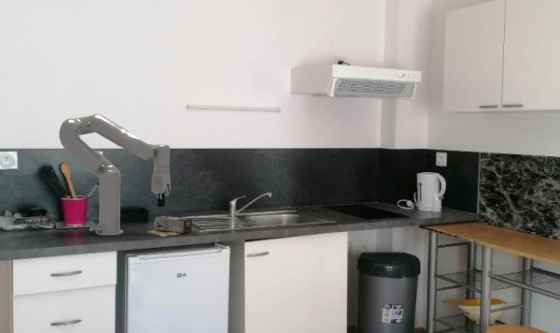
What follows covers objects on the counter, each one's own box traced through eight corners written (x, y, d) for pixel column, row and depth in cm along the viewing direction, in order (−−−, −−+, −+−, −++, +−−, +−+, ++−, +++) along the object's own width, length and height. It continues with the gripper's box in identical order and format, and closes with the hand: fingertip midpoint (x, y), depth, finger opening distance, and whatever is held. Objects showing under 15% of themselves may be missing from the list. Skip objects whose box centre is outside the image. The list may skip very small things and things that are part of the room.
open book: (162, 236, 251) (162, 235, 251) (146, 232, 259) (146, 231, 259) (181, 233, 259) (181, 232, 259) (165, 229, 268) (165, 228, 267)
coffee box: (163, 215, 270) (192, 218, 266) (162, 227, 270) (191, 231, 266) (154, 217, 261) (185, 220, 257) (153, 229, 261) (184, 233, 257)
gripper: (146, 168, 261) (145, 205, 262) (164, 171, 251) (164, 209, 252) (158, 168, 267) (158, 204, 268) (177, 170, 257) (176, 207, 258)
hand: (161, 206), depth 260 cm, fingers closed
